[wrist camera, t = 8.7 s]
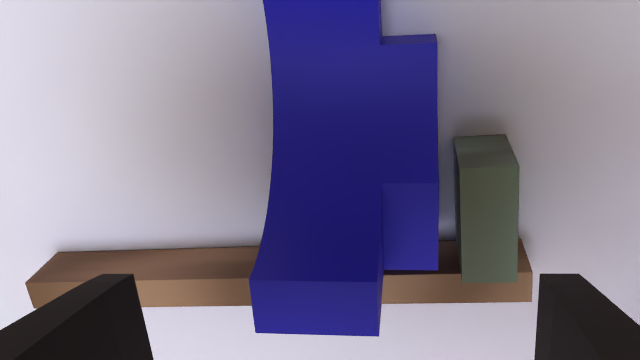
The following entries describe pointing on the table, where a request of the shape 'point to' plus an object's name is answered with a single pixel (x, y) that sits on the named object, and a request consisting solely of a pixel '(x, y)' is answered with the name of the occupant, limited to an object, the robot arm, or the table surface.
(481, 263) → the guide lane
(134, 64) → the table surface
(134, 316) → the robot arm
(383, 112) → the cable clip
